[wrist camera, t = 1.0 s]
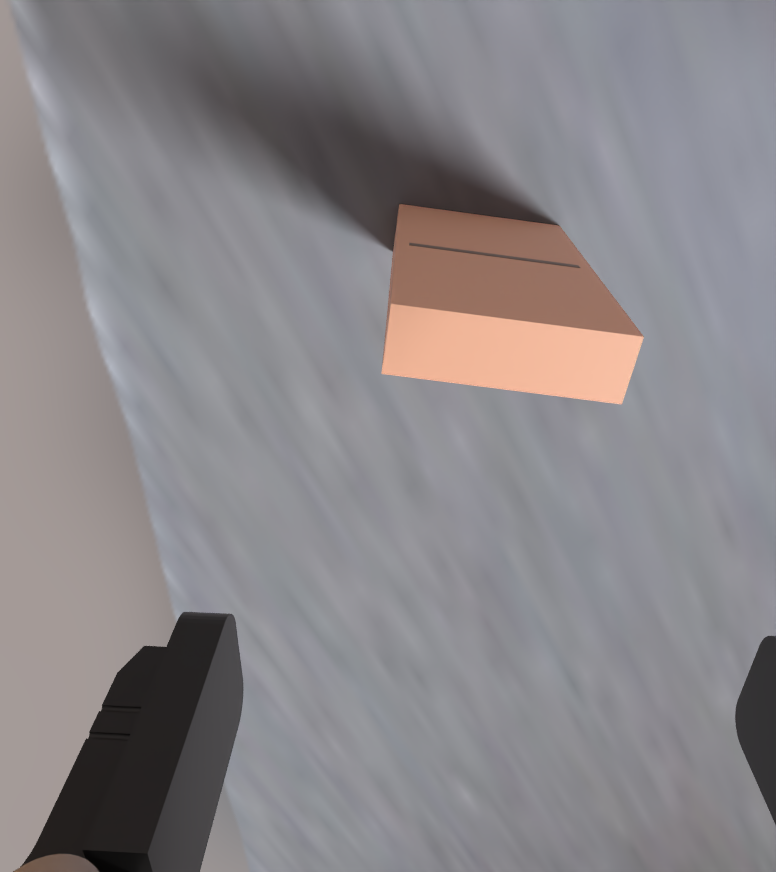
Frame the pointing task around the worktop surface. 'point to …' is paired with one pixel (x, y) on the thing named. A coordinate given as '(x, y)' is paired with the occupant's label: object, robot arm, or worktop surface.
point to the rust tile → (503, 309)
